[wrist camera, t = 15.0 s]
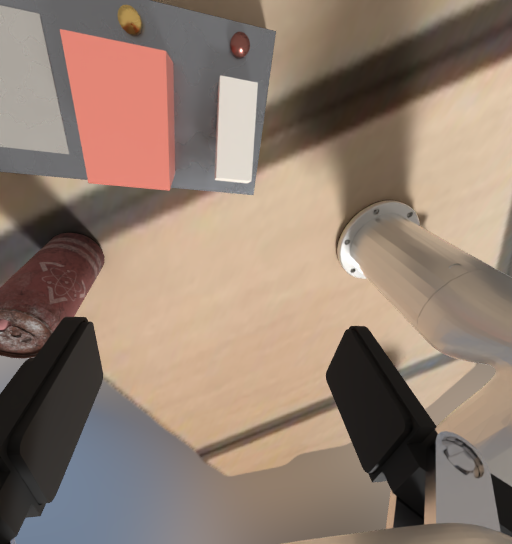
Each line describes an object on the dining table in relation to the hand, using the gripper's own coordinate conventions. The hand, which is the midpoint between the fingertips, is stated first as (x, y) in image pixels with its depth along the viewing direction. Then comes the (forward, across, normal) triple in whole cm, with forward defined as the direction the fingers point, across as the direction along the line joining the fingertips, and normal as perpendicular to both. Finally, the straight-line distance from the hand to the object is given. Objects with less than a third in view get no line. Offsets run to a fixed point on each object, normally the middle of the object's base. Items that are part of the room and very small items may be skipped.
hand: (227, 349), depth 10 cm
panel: (+25, +9, -7) cm, 27 cm away
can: (+25, +16, +10) cm, 31 cm away
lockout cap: (+22, +8, -6) cm, 24 cm away
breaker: (+20, -1, -6) cm, 21 cm away
